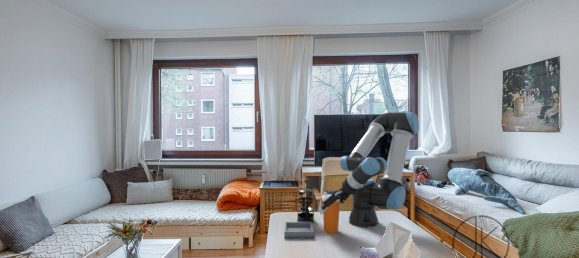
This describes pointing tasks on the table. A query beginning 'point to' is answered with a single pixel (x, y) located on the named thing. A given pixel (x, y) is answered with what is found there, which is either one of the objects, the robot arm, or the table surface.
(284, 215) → the table surface
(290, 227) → the tray
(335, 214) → the shaker bottle
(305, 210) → the french press
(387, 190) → the robot arm
